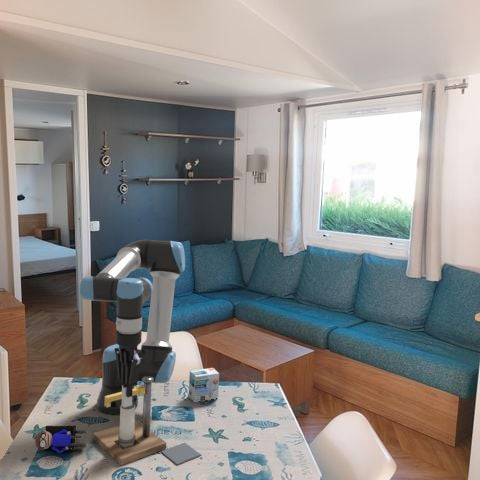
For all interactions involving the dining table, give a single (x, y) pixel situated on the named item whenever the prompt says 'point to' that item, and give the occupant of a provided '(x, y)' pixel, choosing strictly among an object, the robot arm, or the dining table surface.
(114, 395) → the bar
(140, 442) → the socket board
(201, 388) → the light bulb box
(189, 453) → the mat
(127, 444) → the plug
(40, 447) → the character figurine
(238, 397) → the dining table surface
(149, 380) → the post
